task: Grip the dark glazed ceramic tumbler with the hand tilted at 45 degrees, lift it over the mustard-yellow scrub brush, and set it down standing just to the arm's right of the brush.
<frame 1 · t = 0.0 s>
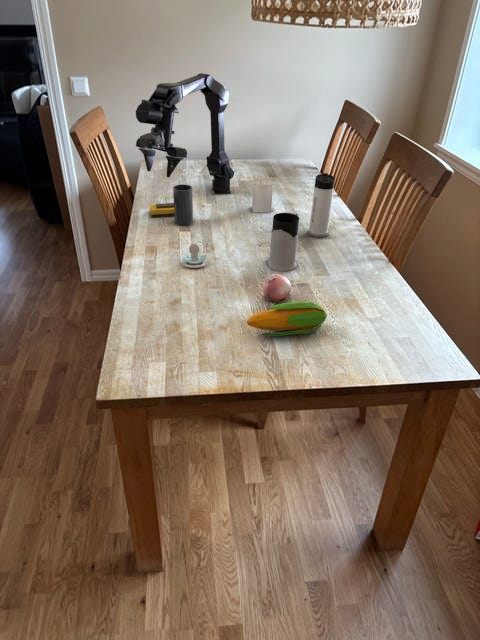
hand: (158, 174, 168), 15 cm above the table, tool pointing down, fingers open, 9 cm apart
corn: (285, 331, 121), on the table
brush: (167, 213, 179), on the table
glass holder: (285, 260, 152), on the table
pacifier: (194, 265, 148), on the table
tea bag: (261, 210, 185), on the table
onion: (276, 299, 134), on the table
travel mug: (318, 234, 169), on the table
tumbler: (183, 222, 174), on the table
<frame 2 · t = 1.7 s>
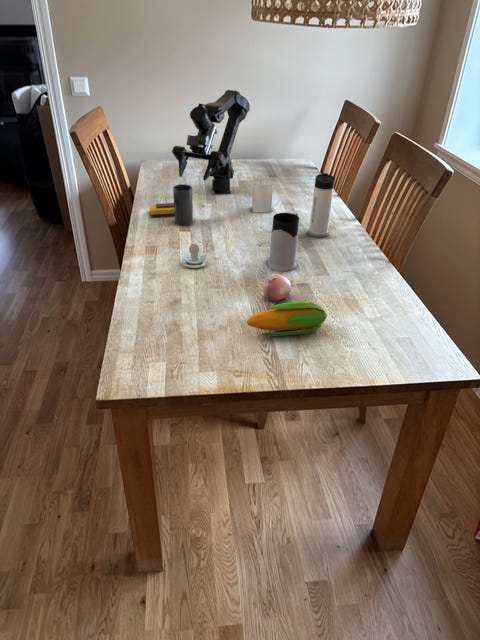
hand: (192, 178, 172), 13 cm above the table, tool tilted 45°, fingers open, 9 cm apart
nothing on the table moved.
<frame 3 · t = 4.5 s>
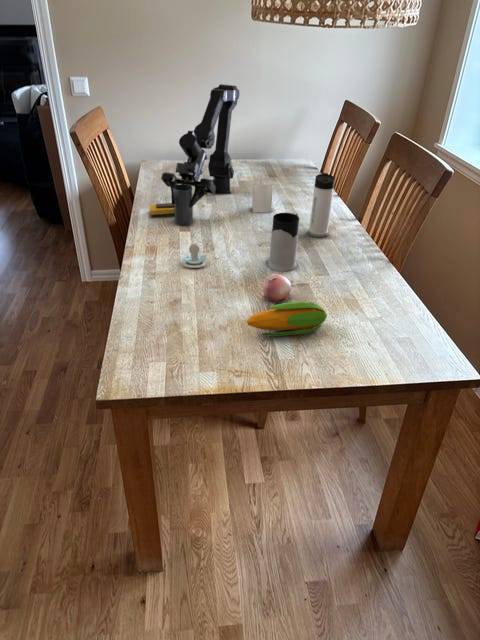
hand: (181, 205, 169), 7 cm above the table, tool tilted 45°, fingers closed on tumbler, 6 cm apart
tumbler: (183, 222, 174), on the table, touching gripper
everything else where it was.
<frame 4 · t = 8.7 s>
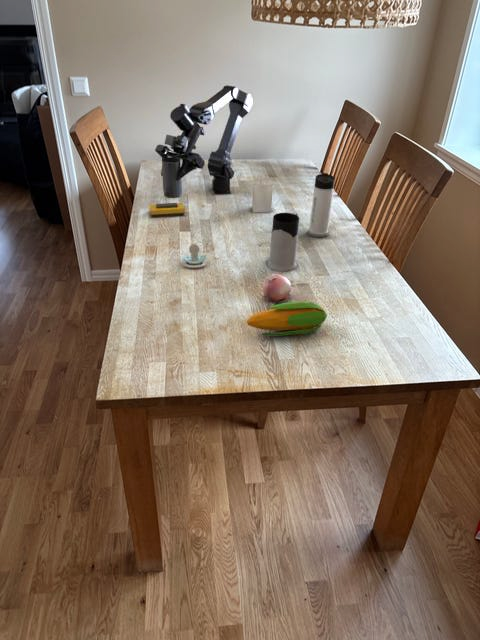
hand: (169, 177, 172), 13 cm above the table, tool tilted 45°, fingers closed on tumbler, 6 cm apart
tumbler: (172, 195, 176), point 7 cm above the table, touching gripper
everything else where it was.
when the fingers open (7 cm above the table, at t = 13.0 s): tumbler stays where it is, on the table.
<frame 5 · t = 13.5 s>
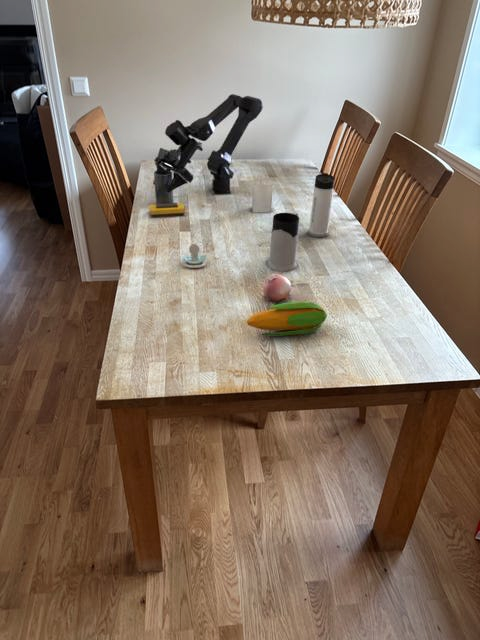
hand: (160, 188, 181), 7 cm above the table, tool tilted 45°, fingers open, 9 cm apart
tumbler: (164, 205, 186), on the table
everything else where it was.
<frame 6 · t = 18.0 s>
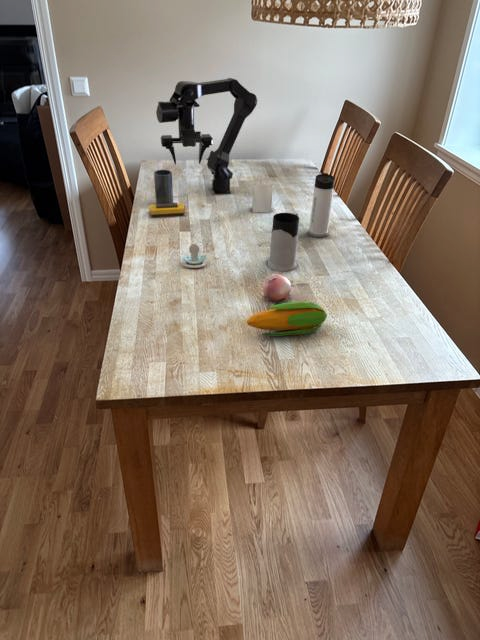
hand: (187, 163, 187), 13 cm above the table, tool pointing down, fingers open, 9 cm apart
nothing on the table moved.
at the end: tumbler inside the target area on the table beside the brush (0.8 cm from its centre), on the table; tumbler tilted 0°; the gripper is holding nothing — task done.
